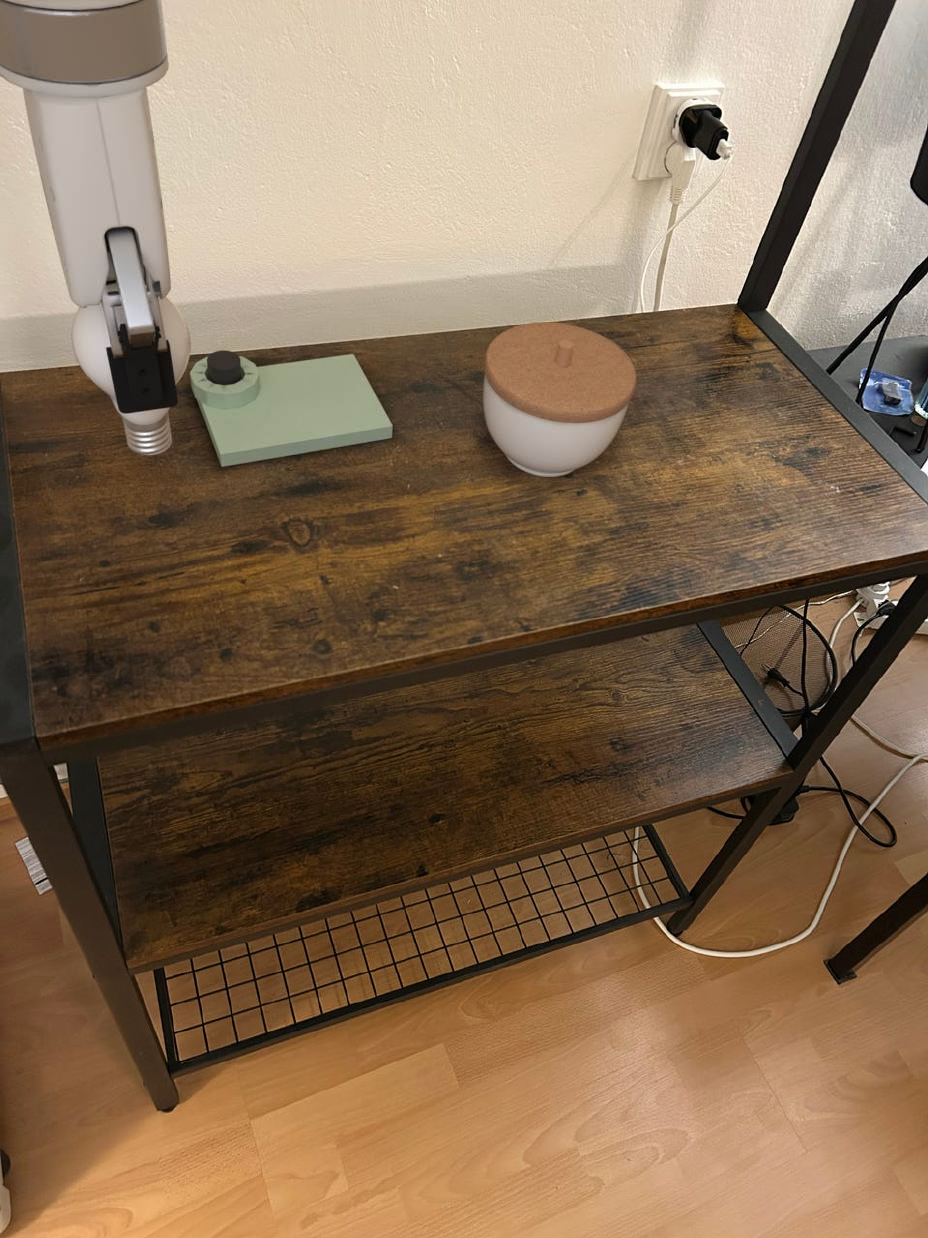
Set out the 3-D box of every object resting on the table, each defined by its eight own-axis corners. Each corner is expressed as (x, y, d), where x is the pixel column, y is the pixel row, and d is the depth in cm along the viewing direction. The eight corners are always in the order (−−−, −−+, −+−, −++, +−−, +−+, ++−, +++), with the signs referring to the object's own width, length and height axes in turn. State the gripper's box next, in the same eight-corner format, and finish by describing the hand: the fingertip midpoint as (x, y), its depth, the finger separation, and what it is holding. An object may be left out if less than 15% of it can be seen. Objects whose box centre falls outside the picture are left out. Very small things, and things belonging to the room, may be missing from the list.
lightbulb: (154, 405, 63) (128, 247, 55) (225, 448, 61) (208, 291, 53) (75, 450, 60) (35, 289, 52) (147, 498, 58) (117, 338, 50)
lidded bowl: (454, 414, 89) (468, 306, 80) (580, 400, 92) (606, 295, 84) (499, 507, 81) (520, 398, 73) (635, 488, 85) (669, 382, 76)
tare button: (212, 388, 83) (210, 371, 82) (205, 369, 85) (203, 352, 83) (245, 383, 84) (243, 366, 82) (237, 365, 85) (236, 348, 84)
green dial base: (217, 467, 80) (214, 439, 78) (188, 387, 87) (184, 358, 85) (392, 438, 85) (393, 410, 83) (351, 364, 92) (352, 336, 90)
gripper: (-31, -40, 46) (50, 296, 60) (4, 117, 37) (92, 477, 50) (130, -40, 49) (173, 283, 62) (204, 107, 39) (236, 453, 52)
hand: (136, 367), depth 56 cm, fingers closed on lightbulb, 6 cm apart
